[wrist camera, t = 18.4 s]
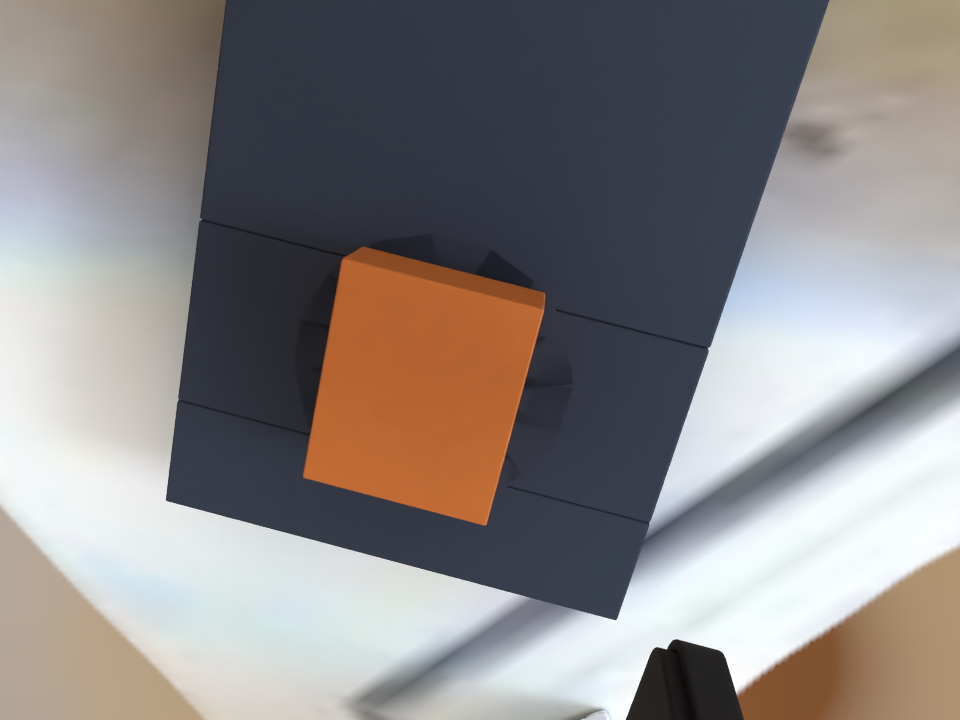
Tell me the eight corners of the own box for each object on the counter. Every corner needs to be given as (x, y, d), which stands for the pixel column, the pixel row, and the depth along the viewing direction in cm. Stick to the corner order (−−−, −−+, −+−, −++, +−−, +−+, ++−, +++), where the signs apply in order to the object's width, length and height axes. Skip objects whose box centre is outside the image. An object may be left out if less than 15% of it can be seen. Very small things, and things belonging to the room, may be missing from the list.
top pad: (382, 233, 22) (341, 257, 18) (547, 275, 22) (544, 309, 18) (346, 418, 24) (301, 477, 20) (499, 457, 24) (486, 527, 20)
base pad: (283, -142, 20) (245, -179, 18) (808, -16, 20) (843, -37, 17) (202, 466, 25) (164, 501, 23) (611, 574, 25) (616, 621, 23)
